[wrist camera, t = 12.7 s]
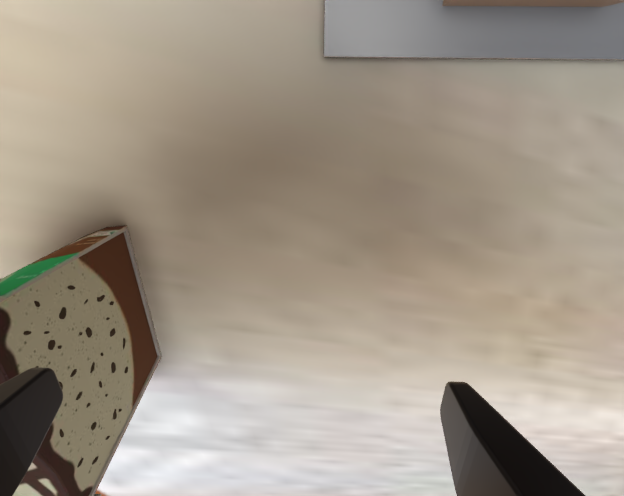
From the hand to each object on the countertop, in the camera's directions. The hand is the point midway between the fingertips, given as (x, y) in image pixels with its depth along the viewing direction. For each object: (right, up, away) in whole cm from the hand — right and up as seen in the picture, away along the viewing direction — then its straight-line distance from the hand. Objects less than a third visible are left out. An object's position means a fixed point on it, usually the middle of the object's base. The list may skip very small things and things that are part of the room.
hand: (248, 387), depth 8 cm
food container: (-12, 0, +14) cm, 18 cm away
